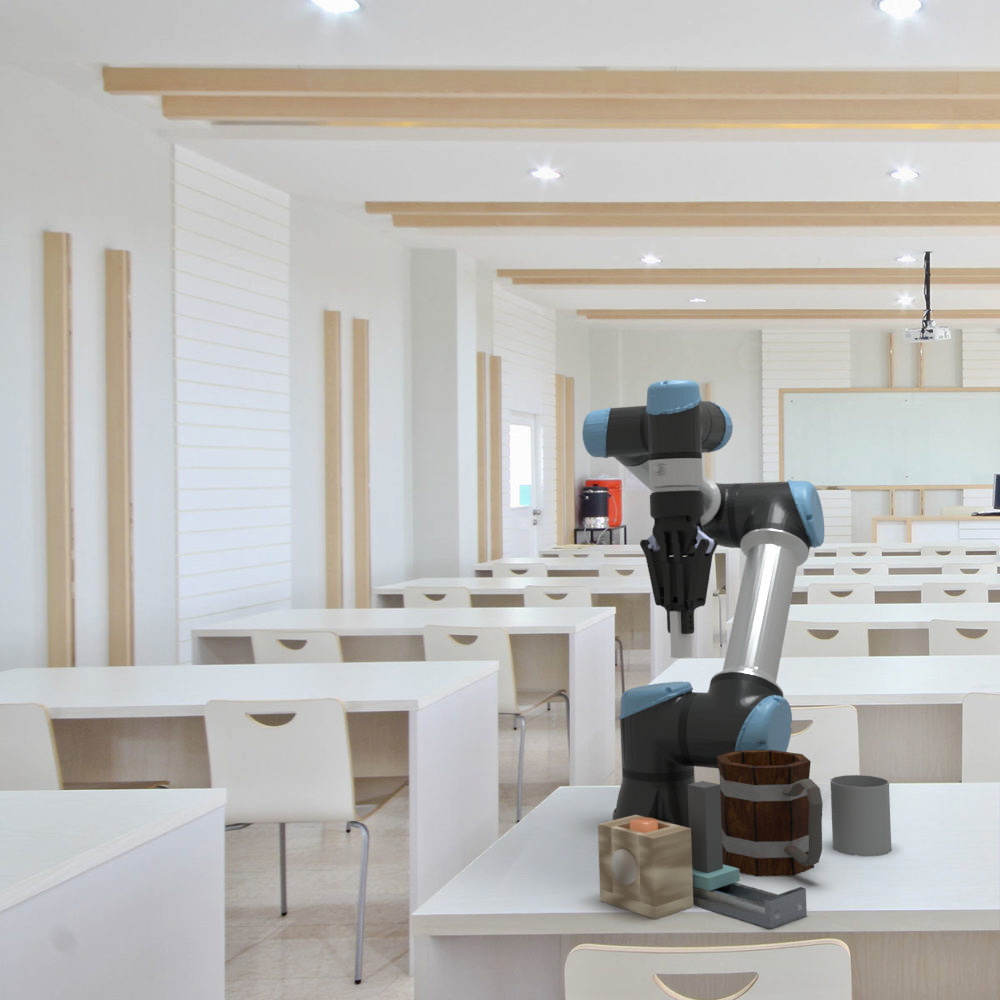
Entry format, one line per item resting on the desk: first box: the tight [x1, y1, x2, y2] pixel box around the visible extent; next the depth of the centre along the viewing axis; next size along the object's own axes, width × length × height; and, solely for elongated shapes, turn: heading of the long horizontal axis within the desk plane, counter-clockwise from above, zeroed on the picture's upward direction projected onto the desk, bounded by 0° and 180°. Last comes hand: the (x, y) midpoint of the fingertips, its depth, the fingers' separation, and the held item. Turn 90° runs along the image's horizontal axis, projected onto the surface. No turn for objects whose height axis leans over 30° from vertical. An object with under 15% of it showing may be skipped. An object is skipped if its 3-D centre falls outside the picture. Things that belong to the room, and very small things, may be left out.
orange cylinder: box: [630, 817, 658, 833], centre depth 152 cm, size 4×4×8 cm
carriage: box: [688, 780, 741, 891], centre depth 154 cm, size 6×6×13 cm
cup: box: [830, 774, 892, 857], centre depth 175 cm, size 8×8×10 cm
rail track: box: [693, 882, 808, 930], centre depth 151 cm, size 18×7×3 cm, turn 38°
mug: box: [717, 750, 824, 877], centre depth 166 cm, size 20×14×15 cm
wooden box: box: [597, 815, 694, 920], centre depth 152 cm, size 10×7×10 cm
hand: (681, 656), depth 165 cm, fingers closed
